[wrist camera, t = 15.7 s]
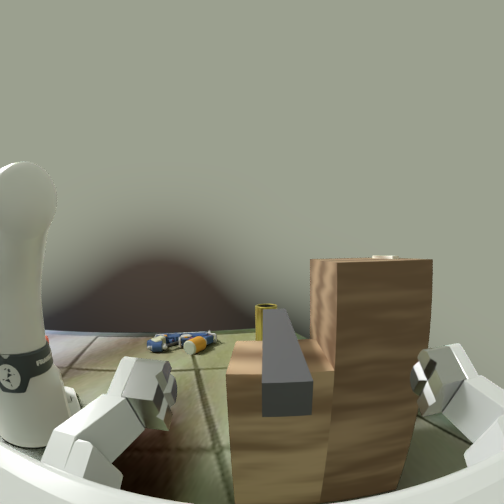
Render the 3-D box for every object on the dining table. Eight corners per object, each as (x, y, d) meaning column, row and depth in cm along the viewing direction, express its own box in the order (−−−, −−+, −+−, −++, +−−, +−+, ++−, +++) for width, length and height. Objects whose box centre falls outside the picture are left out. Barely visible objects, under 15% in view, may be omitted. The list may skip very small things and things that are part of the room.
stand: (396, 489, 23) (432, 255, 23) (235, 506, 24) (221, 261, 24) (364, 432, 37) (377, 255, 37) (243, 440, 38) (236, 258, 38)
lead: (311, 415, 16) (313, 381, 16) (261, 417, 16) (261, 383, 16) (285, 325, 40) (285, 308, 40) (263, 326, 40) (262, 309, 40)
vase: (250, 363, 72) (249, 306, 72) (260, 355, 77) (259, 302, 77) (274, 365, 69) (273, 308, 69) (282, 357, 75) (282, 303, 75)
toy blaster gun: (220, 354, 79) (216, 340, 94) (219, 339, 79) (215, 327, 94) (144, 358, 75) (151, 343, 90) (142, 343, 75) (150, 331, 90)
